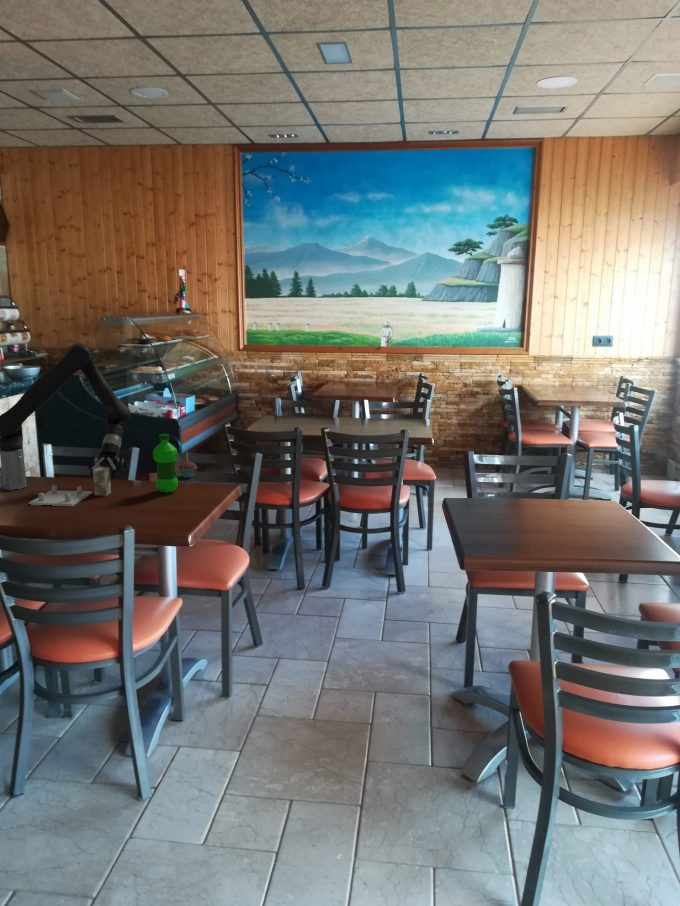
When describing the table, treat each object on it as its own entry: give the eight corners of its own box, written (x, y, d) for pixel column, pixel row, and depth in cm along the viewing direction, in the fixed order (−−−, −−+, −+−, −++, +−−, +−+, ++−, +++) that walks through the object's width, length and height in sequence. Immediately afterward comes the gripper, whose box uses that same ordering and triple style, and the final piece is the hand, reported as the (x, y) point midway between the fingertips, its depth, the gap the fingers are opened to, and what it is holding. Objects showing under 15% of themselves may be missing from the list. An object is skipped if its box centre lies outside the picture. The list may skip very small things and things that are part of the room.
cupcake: (178, 475, 321) (177, 450, 318) (196, 473, 324) (195, 449, 321) (179, 479, 313) (178, 454, 310) (198, 478, 316) (197, 453, 313)
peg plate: (29, 505, 274) (28, 495, 273) (50, 492, 292) (49, 483, 291) (72, 506, 273) (71, 496, 272) (91, 493, 290) (90, 484, 289)
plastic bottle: (159, 487, 299) (156, 432, 294) (182, 488, 298) (180, 432, 293) (151, 494, 290) (147, 436, 284) (175, 495, 289) (172, 437, 283)
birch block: (94, 495, 288) (92, 470, 285) (99, 492, 293) (97, 467, 290) (106, 495, 287) (104, 470, 285) (111, 492, 292) (109, 467, 290)
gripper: (92, 441, 295) (82, 474, 286) (124, 442, 294) (115, 474, 285) (98, 450, 301) (89, 482, 293) (129, 451, 300) (121, 483, 292)
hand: (102, 478), depth 289 cm, fingers open, 8 cm apart
